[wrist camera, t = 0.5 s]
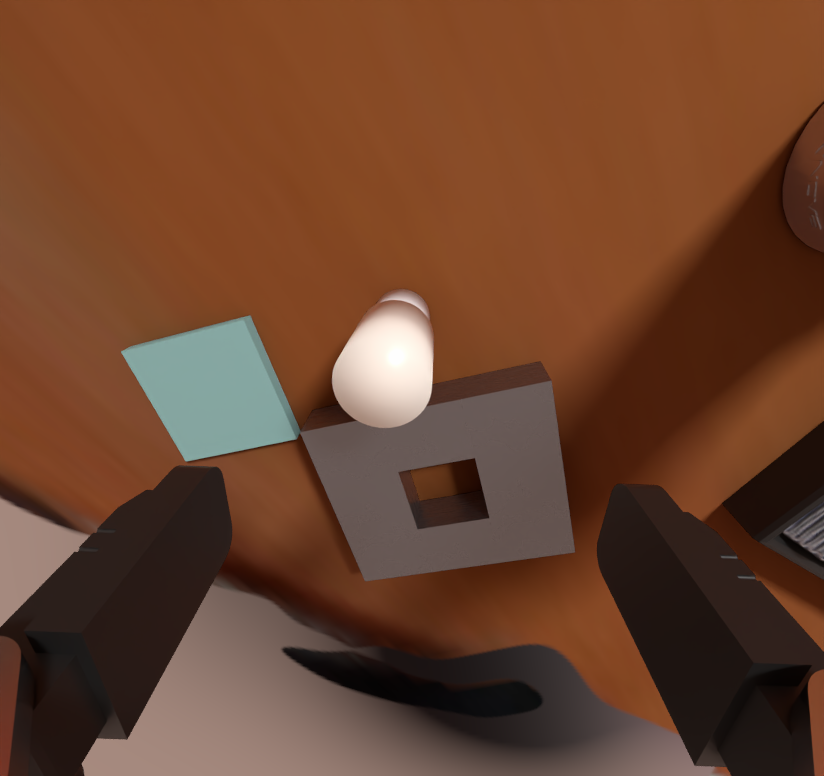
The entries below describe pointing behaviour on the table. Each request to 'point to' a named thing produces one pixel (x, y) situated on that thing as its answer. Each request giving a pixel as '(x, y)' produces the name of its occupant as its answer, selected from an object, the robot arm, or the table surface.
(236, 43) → the table surface
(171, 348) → the teal square tile
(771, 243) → the table surface
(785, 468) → the food platter
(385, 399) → the cream rounded tapered piece
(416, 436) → the socket block
